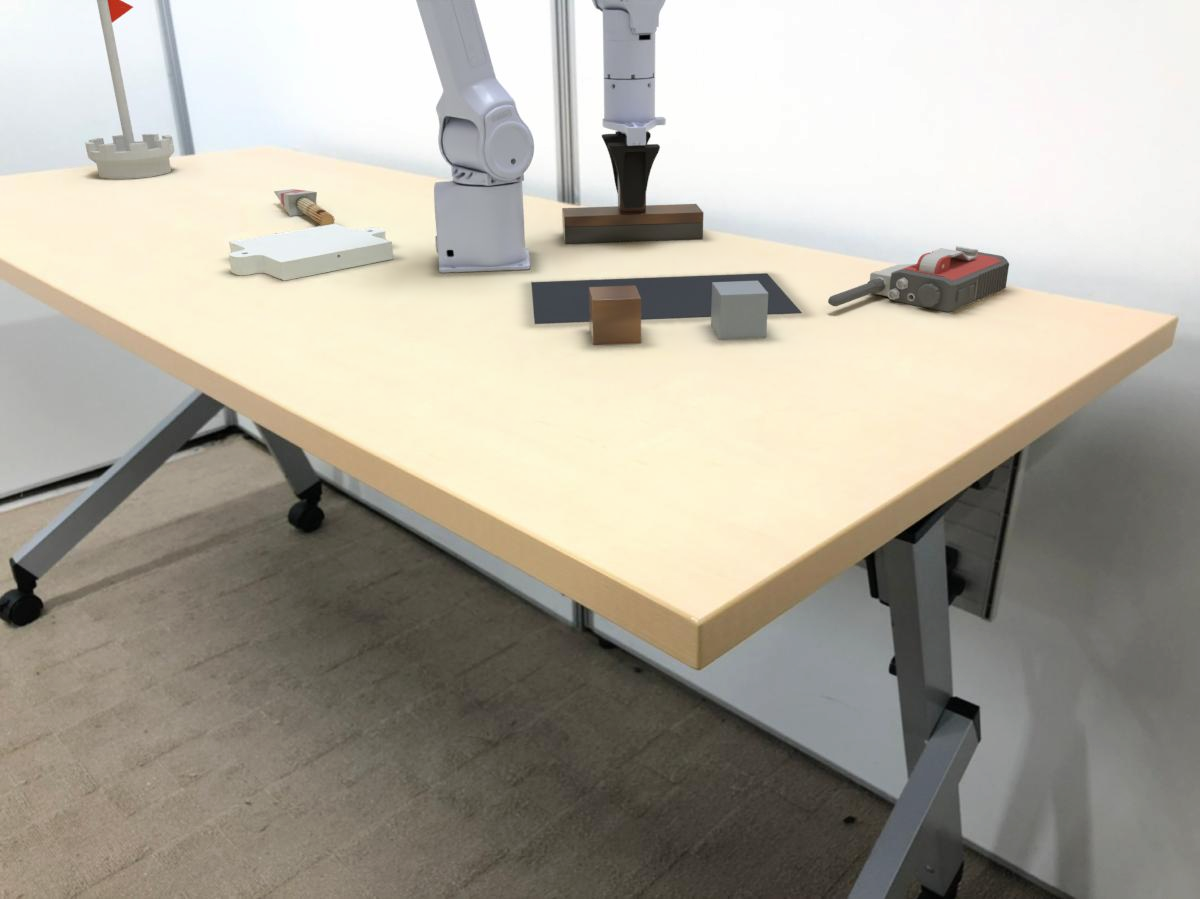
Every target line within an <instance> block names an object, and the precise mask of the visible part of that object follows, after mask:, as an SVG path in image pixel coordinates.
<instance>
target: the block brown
mask: <svg viewBox="0 0 1200 899" xmlns="http://www.w3.org/2000/svg"><path fill="white" fill-rule="evenodd" d="M589 316H590V322H589V333H590V337H591V341H592V342H591V343H592V345H593V346H601V345H602V346H603V345H625V344H628V345H629V344H641V343H642V320H641V297H640V295H639V293H638V290H637V288H636V286H608V287H589Z"/></svg>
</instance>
